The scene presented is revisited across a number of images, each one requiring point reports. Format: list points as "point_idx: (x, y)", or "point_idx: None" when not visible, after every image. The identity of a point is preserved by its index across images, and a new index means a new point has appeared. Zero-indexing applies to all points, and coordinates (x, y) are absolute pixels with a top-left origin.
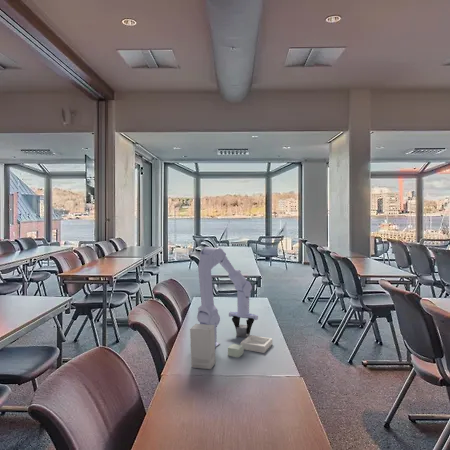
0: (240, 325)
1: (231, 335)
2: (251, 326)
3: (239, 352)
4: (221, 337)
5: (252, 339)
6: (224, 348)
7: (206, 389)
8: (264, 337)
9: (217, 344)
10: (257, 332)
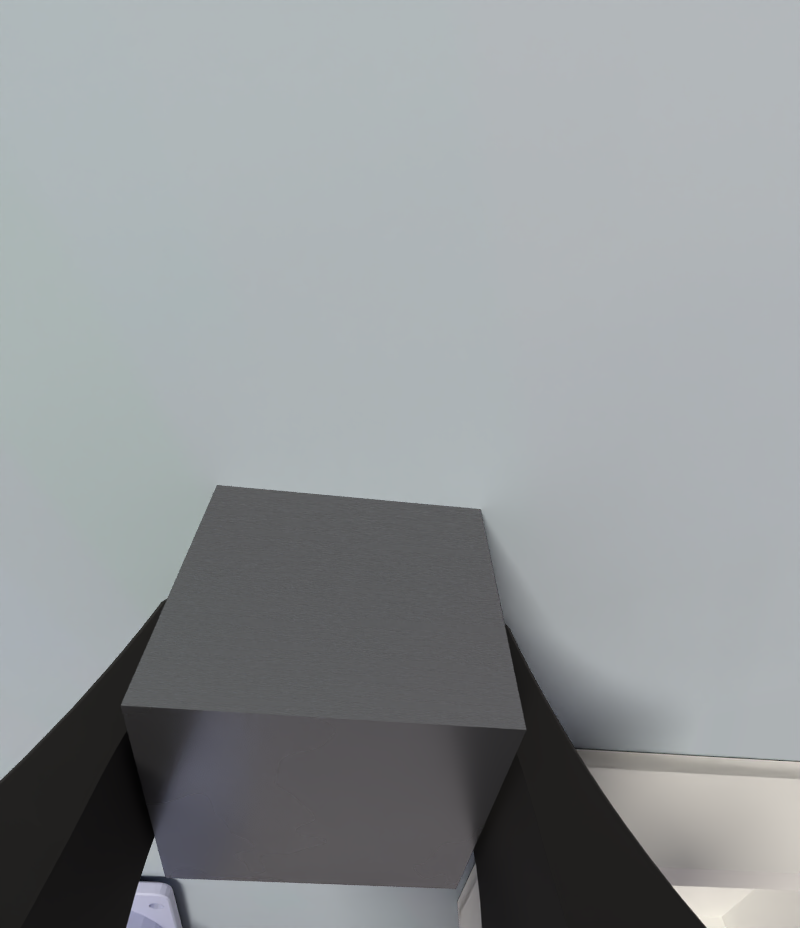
0: (187, 774)
1: (106, 637)
2: (595, 791)
3: None
4: (14, 740)
5: None
6: (283, 918)
7: None
8: None
9: (167, 921)
10: (689, 261)
